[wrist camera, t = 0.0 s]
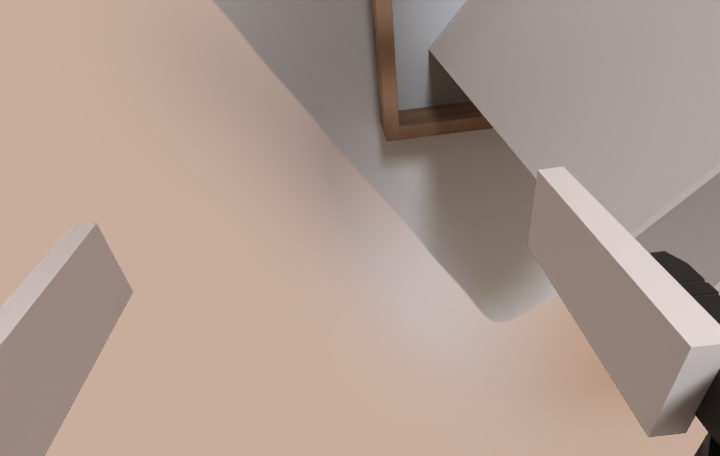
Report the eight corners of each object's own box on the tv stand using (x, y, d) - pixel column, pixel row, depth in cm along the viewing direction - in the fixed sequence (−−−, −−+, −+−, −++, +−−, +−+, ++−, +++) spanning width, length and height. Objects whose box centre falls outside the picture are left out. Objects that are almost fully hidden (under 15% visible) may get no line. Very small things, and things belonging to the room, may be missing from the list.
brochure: (471, 86, 41) (686, 323, 17) (428, 50, 39) (598, 258, 14) (596, -58, 35) (1225, -27, 11) (553, -110, 33) (1209, -224, 8)
